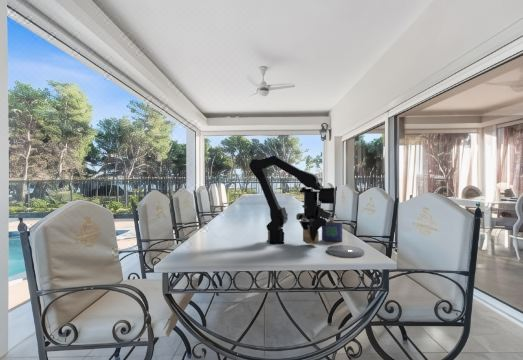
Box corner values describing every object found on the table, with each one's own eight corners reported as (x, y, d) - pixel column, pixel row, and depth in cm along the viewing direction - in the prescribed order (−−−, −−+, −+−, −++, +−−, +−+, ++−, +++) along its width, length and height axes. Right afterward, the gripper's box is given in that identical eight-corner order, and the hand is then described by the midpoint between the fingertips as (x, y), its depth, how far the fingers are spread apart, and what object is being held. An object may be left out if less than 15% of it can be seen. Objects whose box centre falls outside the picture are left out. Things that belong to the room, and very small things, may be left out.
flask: (342, 240, 131) (342, 217, 130) (342, 242, 128) (342, 218, 127) (321, 239, 133) (321, 216, 133) (321, 241, 130) (321, 218, 130)
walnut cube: (307, 243, 119) (307, 232, 119) (302, 241, 124) (302, 229, 124) (318, 243, 120) (318, 231, 120) (313, 240, 125) (313, 229, 125)
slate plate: (338, 258, 104) (338, 255, 103) (321, 248, 117) (321, 246, 117) (371, 255, 107) (371, 252, 107) (351, 246, 121) (351, 243, 121)
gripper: (338, 204, 115) (338, 243, 115) (318, 200, 133) (318, 233, 133) (313, 205, 112) (313, 245, 112) (295, 201, 130) (295, 234, 131)
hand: (310, 239), depth 122 cm, fingers closed on walnut cube, 5 cm apart
